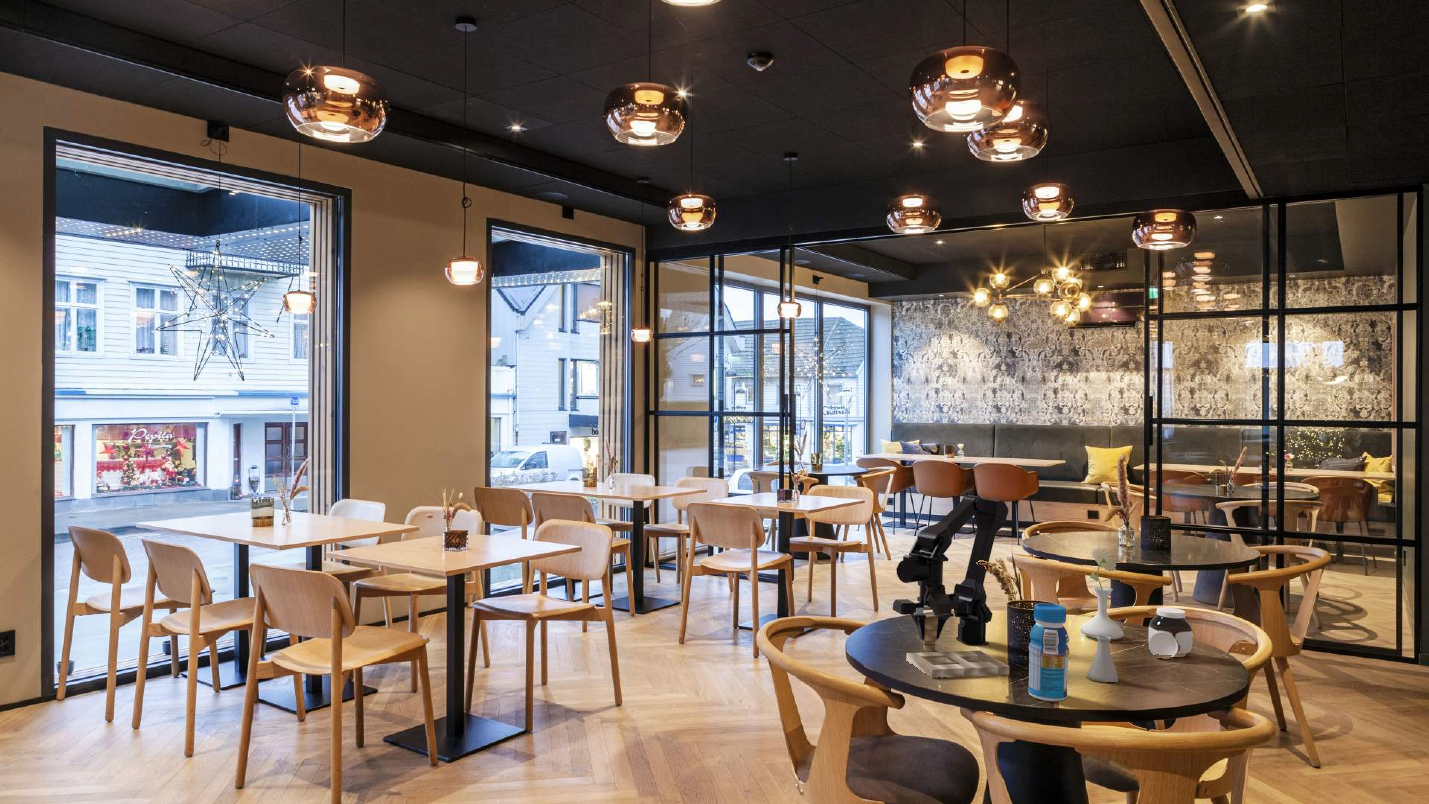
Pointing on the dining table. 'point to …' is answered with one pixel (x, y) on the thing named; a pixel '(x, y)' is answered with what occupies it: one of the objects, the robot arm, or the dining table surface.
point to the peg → (930, 633)
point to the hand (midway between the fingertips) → (929, 639)
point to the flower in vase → (1102, 602)
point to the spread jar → (1170, 632)
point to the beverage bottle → (1048, 653)
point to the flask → (1103, 663)
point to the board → (957, 664)
